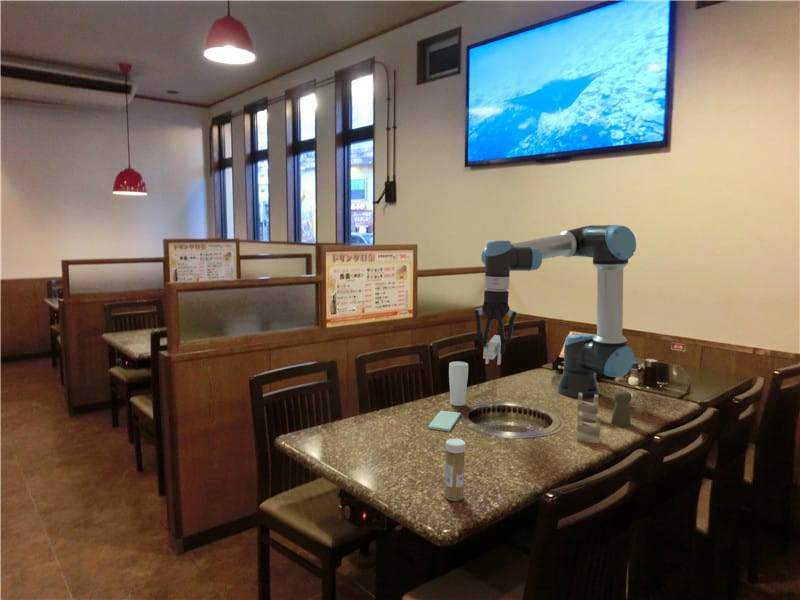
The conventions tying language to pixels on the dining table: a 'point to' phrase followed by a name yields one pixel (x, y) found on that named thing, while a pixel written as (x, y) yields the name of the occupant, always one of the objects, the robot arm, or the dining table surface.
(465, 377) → the drinking glass
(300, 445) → the dining table surface
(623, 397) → the olive round-headed peg
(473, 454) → the dining table surface
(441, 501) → the dining table surface
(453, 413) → the sage board
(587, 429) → the hook stands
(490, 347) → the steel rail
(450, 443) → the sprinkles bottle
